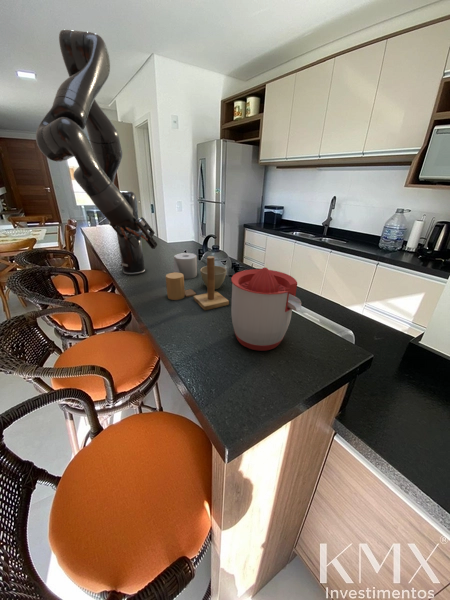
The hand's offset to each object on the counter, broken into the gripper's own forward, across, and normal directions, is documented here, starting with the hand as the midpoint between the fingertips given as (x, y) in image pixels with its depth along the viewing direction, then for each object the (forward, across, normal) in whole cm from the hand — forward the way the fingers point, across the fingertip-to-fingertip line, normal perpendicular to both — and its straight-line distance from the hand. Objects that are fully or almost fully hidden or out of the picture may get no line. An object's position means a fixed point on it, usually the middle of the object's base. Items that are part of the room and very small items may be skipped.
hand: (146, 246), depth 80 cm
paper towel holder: (+22, -18, +4) cm, 28 cm away
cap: (+20, -5, +4) cm, 21 cm away
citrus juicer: (+18, -41, +14) cm, 47 cm away
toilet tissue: (+27, +7, -10) cm, 29 cm away
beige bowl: (+27, -10, -6) cm, 30 cm away
